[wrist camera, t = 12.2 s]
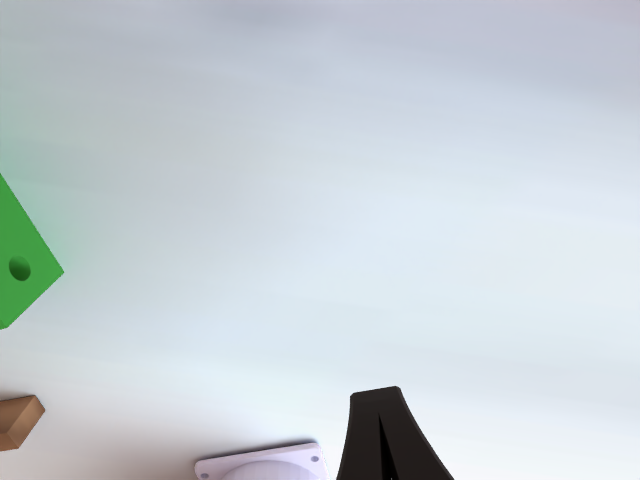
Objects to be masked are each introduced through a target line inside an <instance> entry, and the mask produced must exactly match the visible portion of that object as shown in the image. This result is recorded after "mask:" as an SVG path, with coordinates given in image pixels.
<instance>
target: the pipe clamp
mask: <svg viewBox="0 0 640 480" xmlns="http://www.w3.org/2000/svg"><path fill="white" fill-rule="evenodd" d="M63 273H64V271H63V270H62V268H61V266H60V265H59V263H58V262H57V260H56V259H55V257H54V256H53V254H52V253H51V251H50V249H49V248H48V246H47V245H46V243H45V242H44V240H43V239H42V237H41V236H40V234H39V232H38V231H37V229H36V228H35V226H34V225H33V223H32V222H31V220H30V219H29V217H28V215H27V214H26V212H25V211H24V209H23V208H22V206H21V205H20V203H19V202H18V200H17V198H16V197H15V195H14V194H13V192H12V191H11V189H10V188H9V186H8V185H7V183H6V181H5V180H4V178H3V177H2V175H1V174H0V330H1V329H4V328H7V327H8V326H9V325H10V324H12V323H13V322H14V321H15V320H16V319H17V318H18V317H19V316H20V315H21V314H22V313H23V312H24V311H25V310H26V309H27V308H28V307H29V306H30V305H31V304H32V303H33V302H34V301H35V300H36V299H37V298H38V297H39V296H40V295H41V294H42V293H43V292H45V291H46V290H47V289H48V288H49V287H50V286H51V285H52V284H53V283H54V282H55V281H56V280H57V279H58V278H59V277H60V276H61V275H62V274H63Z"/></svg>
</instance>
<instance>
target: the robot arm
mask: <svg viewBox="0 0 640 480" xmlns="http://www.w3.org/2000/svg"><path fill="white" fill-rule="evenodd" d="M194 471H195V473H196V475H197V477H198V479H199V480H330V476H329V473H328V470H327V466H326V463H325V459H324V456H323V453H322V449H321V447H320V445H318V444H317V443H308V444H301V445H295V446H289V447H282V448H276V449H270V450H263V451H257V452H250V453H244V454H238V455H231V456H225V457H219V458H212V459H206V460H200V461H198V462H197V463H196V464H195V468H194ZM391 478H392V480H454V478H453V477H452V476H451V474H450V473H449V472H448V470H447V469H446V467H445V466H444V465H443V463H442V462H441V460H440V459H439V457H438V456H437V454H436V453H435V451H434V450H433V448H432V447H431V445H430V444H429V442H428V441H427V439H426V438H425V436H424V434H423V433H422V431H421V429H420V428H419V426H418V424H417V422H416V421H415V419H414V417H413V415H412V414H411V412H410V410H409V408H408V406H407V404H406V401H405V399H404V397H403V394H402V392H401V389H400V388H399V387H397V386H392V387H386V388H380V389H374V390H368V391H362V392H356V393H353V394H352V395H351V396H350V413H349V421H348V428H347V434H346V440H345V445H344V449H343V454H342V459H341V463H340V467H339V471H338V475H337V479H336V480H391Z"/></svg>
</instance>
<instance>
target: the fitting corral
mask: <svg viewBox="0 0 640 480" xmlns="http://www.w3.org/2000/svg"><path fill="white" fill-rule="evenodd" d="M44 412H45V409H44V408H43V406H42V405H41V403H40V402H39V400H38V399H37V397H36V396H29V397H23V398H17V399H12V400H6V401H0V451H6V450H12V449H18V448H19V447H20V446H21V444H22V443H23V441H24V440H25V439H26V437H27V436H28V434H29V433H30V431H31V430H32V429H33V427H34V426H35V424H36V423H37V422H38V420H39V419H40V417H41V416H42V414H43V413H44Z"/></svg>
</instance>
